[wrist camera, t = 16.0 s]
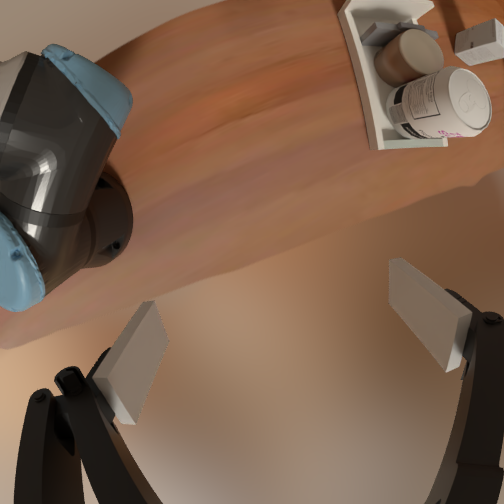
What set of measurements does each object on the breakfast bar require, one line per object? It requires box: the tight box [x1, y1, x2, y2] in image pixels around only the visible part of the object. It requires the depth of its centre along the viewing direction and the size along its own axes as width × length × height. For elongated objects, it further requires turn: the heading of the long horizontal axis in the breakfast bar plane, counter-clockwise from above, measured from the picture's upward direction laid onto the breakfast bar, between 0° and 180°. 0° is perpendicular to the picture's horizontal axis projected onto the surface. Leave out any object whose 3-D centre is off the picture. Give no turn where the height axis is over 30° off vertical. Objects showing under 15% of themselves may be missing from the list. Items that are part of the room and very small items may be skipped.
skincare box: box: [454, 18, 504, 66], centre depth 25 cm, size 6×4×12 cm
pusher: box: [360, 22, 439, 47], centre depth 27 cm, size 10×1×8 cm, turn 100°
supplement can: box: [386, 66, 492, 139], centre depth 27 cm, size 8×8×15 cm
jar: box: [374, 29, 444, 88], centre depth 28 cm, size 7×7×9 cm
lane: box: [337, 0, 448, 150], centre depth 30 cm, size 13×23×9 cm, turn 10°
